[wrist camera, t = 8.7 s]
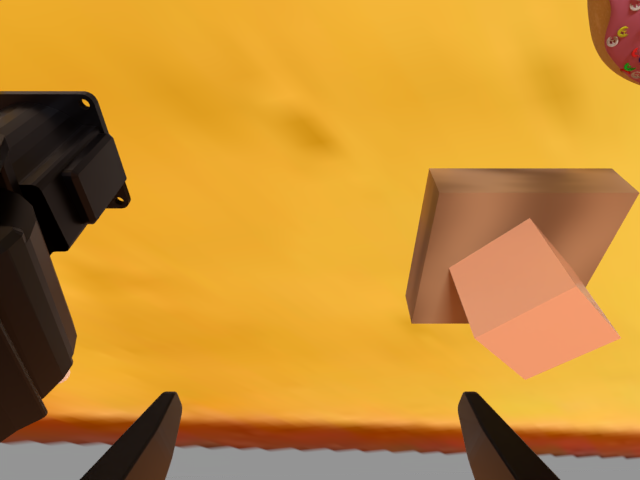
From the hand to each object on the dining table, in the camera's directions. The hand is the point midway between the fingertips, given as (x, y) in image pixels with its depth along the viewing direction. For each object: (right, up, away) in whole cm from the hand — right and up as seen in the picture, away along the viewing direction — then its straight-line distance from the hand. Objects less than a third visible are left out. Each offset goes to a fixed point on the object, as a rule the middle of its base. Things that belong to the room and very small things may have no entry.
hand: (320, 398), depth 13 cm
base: (+11, +5, +13) cm, 17 cm away
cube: (+11, +3, +11) cm, 16 cm away
